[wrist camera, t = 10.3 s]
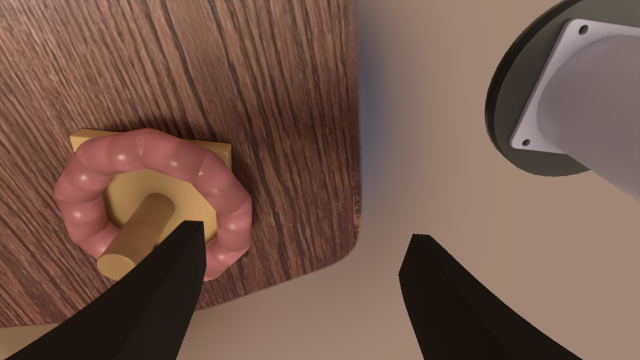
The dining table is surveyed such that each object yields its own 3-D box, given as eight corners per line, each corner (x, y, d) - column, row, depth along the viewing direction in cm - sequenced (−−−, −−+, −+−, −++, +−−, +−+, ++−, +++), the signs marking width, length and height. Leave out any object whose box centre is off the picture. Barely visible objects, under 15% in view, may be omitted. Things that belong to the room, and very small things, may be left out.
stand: (231, 143, 20) (200, 205, 15) (233, 247, 25) (210, 326, 19) (81, 127, 19) (-14, 187, 14) (111, 239, 24) (50, 318, 18)
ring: (256, 132, 19) (250, 149, 17) (252, 274, 25) (247, 297, 23) (48, 110, 18) (16, 125, 16) (97, 264, 24) (79, 287, 22)
